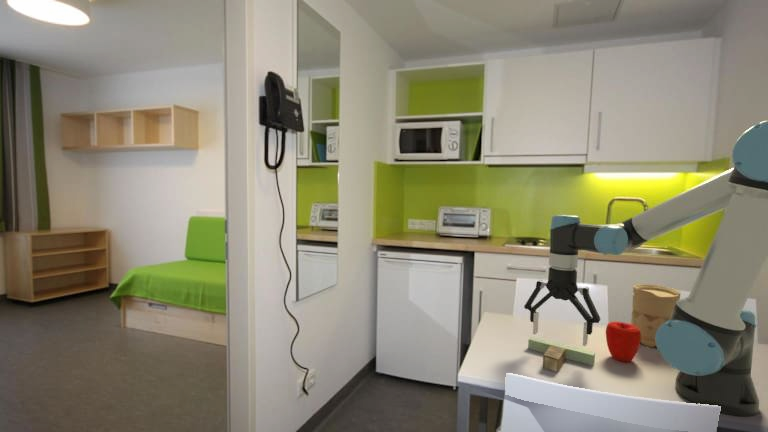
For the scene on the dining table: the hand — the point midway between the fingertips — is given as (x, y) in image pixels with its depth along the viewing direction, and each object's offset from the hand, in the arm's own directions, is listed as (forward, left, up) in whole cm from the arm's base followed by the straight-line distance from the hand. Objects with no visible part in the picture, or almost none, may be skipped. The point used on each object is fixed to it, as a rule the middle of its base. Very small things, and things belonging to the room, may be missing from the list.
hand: (559, 338), depth 110 cm
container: (-22, -34, -6) cm, 41 cm away
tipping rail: (0, -2, -6) cm, 6 cm away
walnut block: (0, +1, -4) cm, 4 cm away
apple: (-15, -12, -6) cm, 20 cm away
